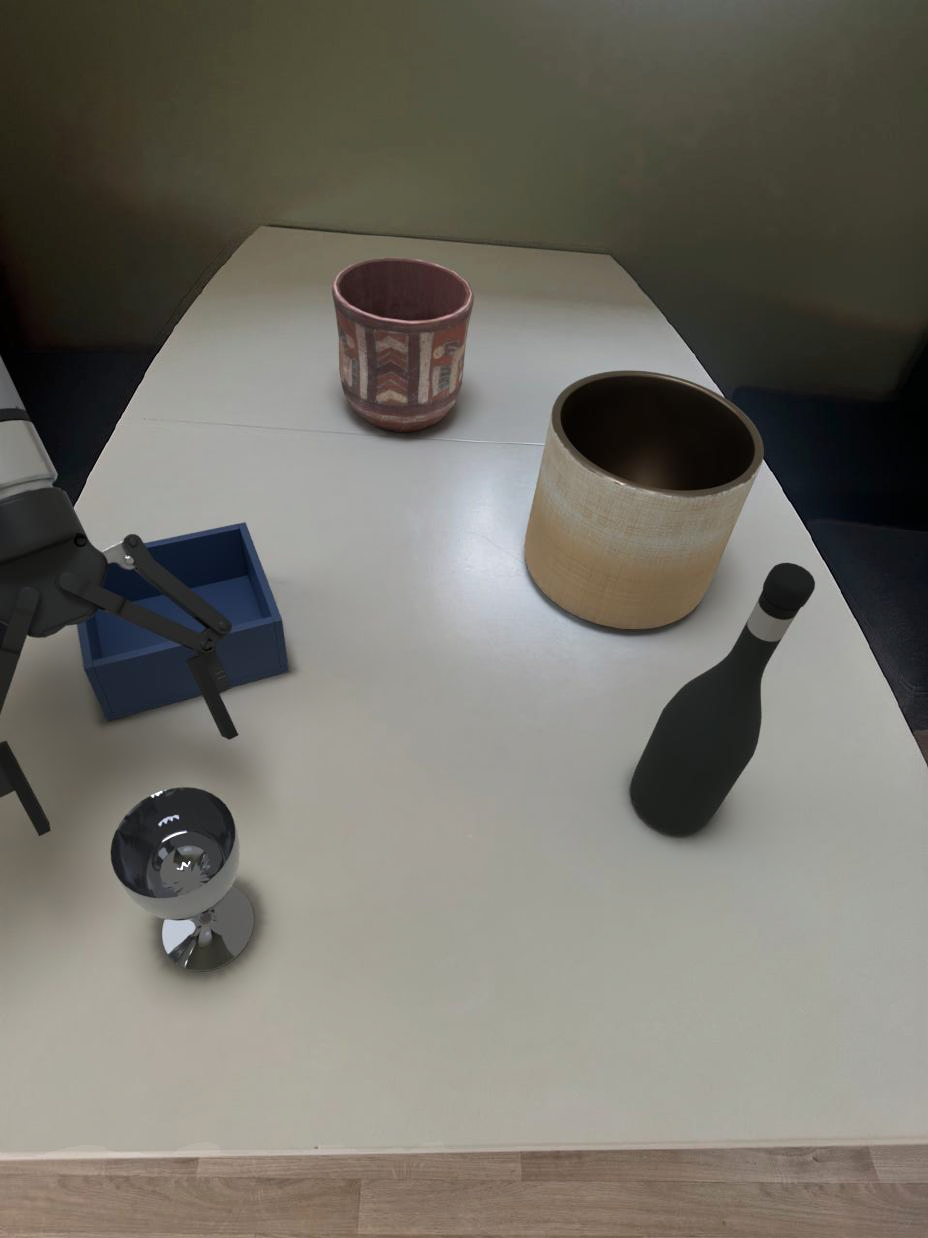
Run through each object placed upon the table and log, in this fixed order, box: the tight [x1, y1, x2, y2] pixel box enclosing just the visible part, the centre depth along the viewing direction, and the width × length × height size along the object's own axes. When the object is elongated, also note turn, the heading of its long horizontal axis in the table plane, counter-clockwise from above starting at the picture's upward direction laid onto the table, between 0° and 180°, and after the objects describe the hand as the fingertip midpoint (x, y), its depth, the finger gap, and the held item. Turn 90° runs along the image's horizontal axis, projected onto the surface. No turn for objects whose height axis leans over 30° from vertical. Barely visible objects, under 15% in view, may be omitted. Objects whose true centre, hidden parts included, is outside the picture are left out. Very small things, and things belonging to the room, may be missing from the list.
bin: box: [76, 521, 290, 722], centre depth 80 cm, size 18×15×8 cm
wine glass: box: [110, 786, 255, 972], centre depth 58 cm, size 8×8×15 cm
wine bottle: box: [630, 562, 816, 835], centre depth 64 cm, size 8×8×30 cm
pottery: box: [331, 257, 475, 433], centre depth 107 cm, size 18×18×18 cm
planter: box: [524, 369, 765, 630], centre depth 88 cm, size 22×22×20 cm
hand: (142, 780), depth 57 cm, fingers open, 13 cm apart
